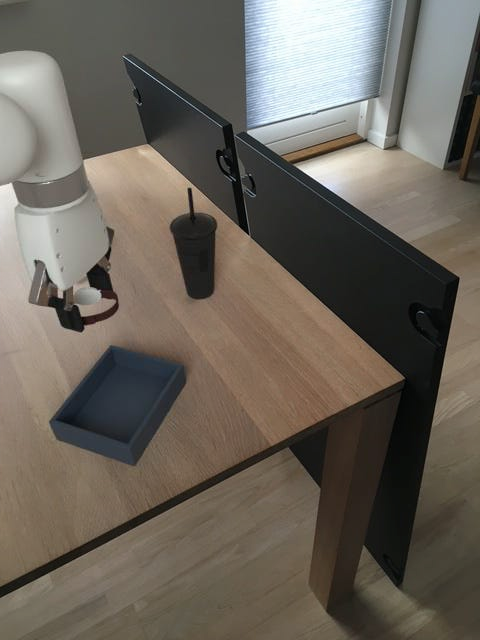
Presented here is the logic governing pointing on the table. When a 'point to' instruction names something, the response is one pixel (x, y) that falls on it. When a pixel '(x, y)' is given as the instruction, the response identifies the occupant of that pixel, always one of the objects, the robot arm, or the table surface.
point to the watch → (92, 296)
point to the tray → (119, 404)
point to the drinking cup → (196, 250)
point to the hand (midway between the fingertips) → (88, 310)
